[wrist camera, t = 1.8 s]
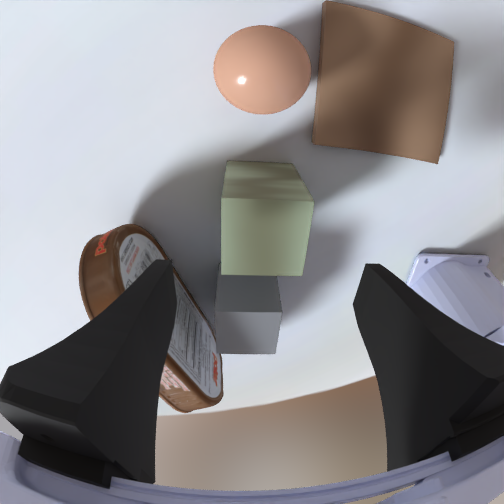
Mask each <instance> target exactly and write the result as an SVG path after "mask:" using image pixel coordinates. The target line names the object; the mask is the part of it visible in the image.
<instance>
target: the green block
mask: <svg viewBox="0 0 504 504" xmlns="http://www.w3.org/2000/svg"><path fill="white" fill-rule="evenodd" d="M313 208H314V200H313V198H312V196H311V195H310V193H309V191H308V189H307V187H306V186H305V184H304V182H303V180H302V179H301V177H300V175H299V173H298V172H297V170H296V168H295V166H294V165H293V164H289V163H272V162H251V161H227V165H226V171H225V177H224V184H223V190H222V196H221V275H261V276H302V274H303V269H304V263H305V257H306V251H307V246H308V240H309V233H310V227H311V221H312V215H313Z"/></svg>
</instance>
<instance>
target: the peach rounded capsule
mask: <svg viewBox="0 0 504 504" xmlns="http://www.w3.org/2000/svg"><path fill="white" fill-rule="evenodd" d="M214 78H215V82H216V85H217V87H218V89H219V91H220V92H221V94H222V95H223V96H224V97H225V99H226V100H227V101H229V102H230V103H231V104H232V105H234V106H235V107H237V108H239V109H241V110H243V111H246V112H249V113H254V114H273V113H277V112H280V111H283V110H285V109H287V108H289V107H291V106H292V105H293V104H295V103H296V102H297V101H298V100H299V99H300V98H301V97H302V96H303V94H304V93H305V91H306V89H307V87H308V85H309V82H310V78H311V63H310V59H309V56H308V54H307V51H306V50H305V48H304V46H303V45H302V44H301V43H300V41H299V40H298V39H296V38H295V37H294V36H293V35H291V34H290V33H288V32H286V31H285V30H282V29H280V28H277V27H273V26H266V25H258V26H251V27H247V28H244V29H241V30H239V31H237V32H235V33H234V34H232V35H231V36H229V37H228V38H227V39H226V40H225V41H224V43H223V44H222V45H221V46H220V48H219V50H218V52H217V54H216V57H215V61H214Z"/></svg>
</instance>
